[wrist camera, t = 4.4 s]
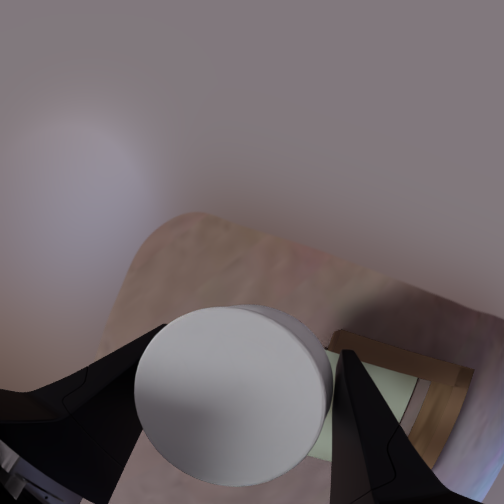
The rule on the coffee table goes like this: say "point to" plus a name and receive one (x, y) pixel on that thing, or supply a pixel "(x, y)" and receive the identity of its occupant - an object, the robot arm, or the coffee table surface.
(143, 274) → the coffee table surface
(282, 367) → the pill bottle
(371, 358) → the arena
